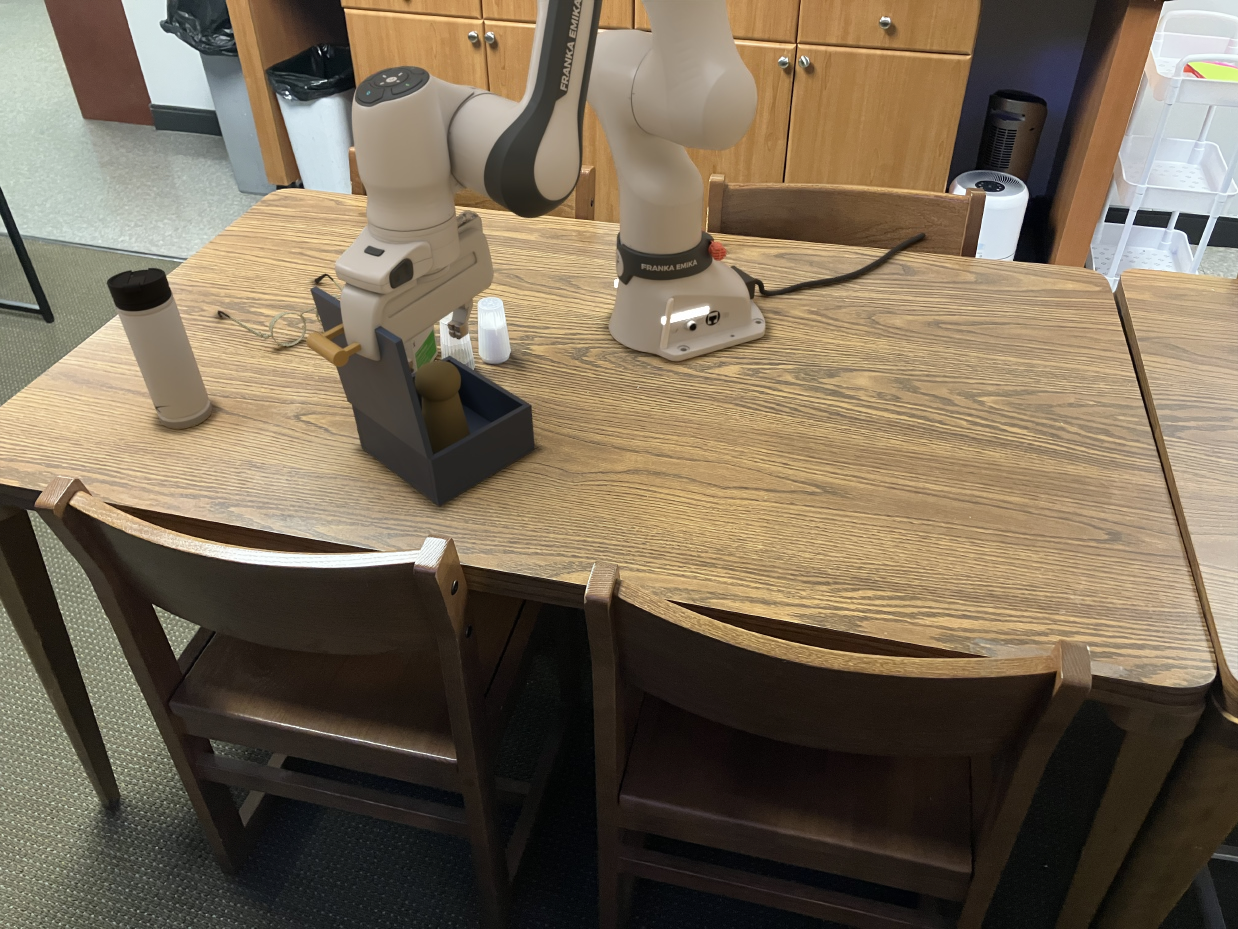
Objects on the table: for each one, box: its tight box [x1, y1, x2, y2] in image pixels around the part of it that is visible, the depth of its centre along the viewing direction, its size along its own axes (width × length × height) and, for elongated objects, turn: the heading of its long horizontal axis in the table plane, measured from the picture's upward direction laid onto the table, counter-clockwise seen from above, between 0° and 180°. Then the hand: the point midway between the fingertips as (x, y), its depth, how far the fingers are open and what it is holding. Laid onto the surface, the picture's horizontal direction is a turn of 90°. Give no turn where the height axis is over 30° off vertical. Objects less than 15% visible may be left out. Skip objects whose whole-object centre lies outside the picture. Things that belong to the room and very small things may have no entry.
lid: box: [305, 285, 433, 459], centre depth 98 cm, size 15×15×5 cm
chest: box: [351, 355, 536, 508], centre depth 110 cm, size 14×15×7 cm
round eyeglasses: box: [217, 273, 343, 347], centre depth 135 cm, size 17×15×5 cm
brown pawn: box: [415, 360, 470, 455], centre depth 108 cm, size 6×6×11 cm
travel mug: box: [106, 267, 213, 430], centre depth 112 cm, size 6×7×20 cm
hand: (432, 354), depth 104 cm, fingers open, 8 cm apart
